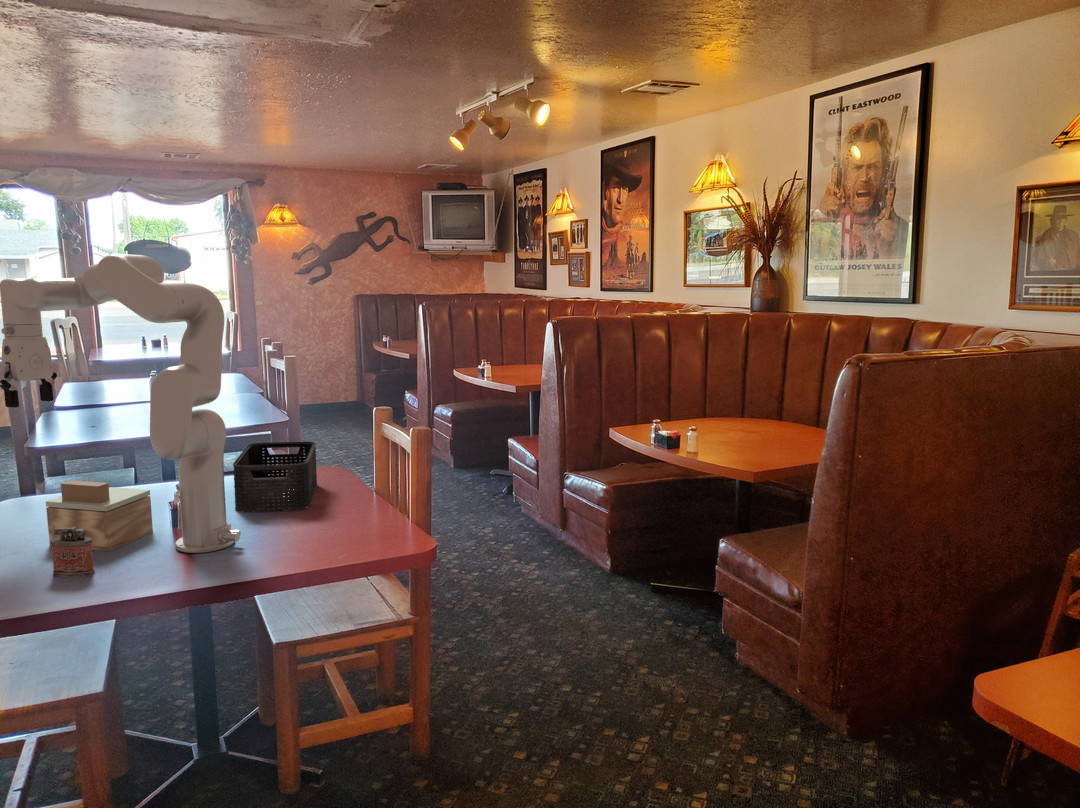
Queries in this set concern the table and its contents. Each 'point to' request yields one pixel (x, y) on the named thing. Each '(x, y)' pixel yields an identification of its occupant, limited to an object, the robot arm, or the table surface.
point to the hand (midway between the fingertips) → (30, 403)
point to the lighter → (72, 553)
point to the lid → (94, 496)
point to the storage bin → (274, 477)
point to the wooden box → (105, 523)
